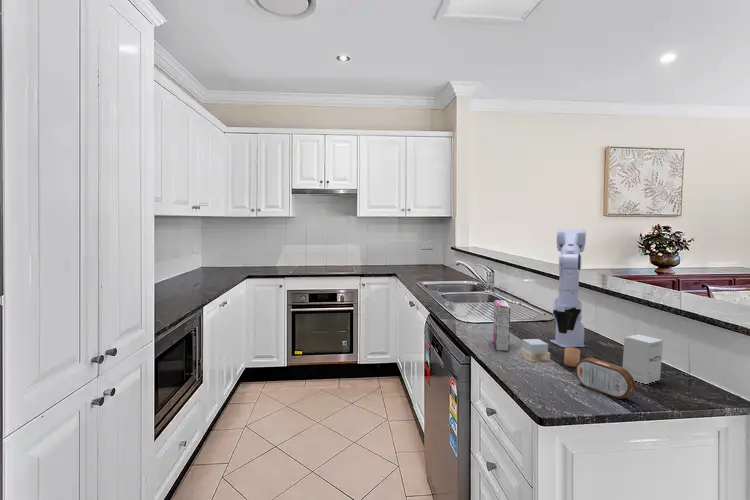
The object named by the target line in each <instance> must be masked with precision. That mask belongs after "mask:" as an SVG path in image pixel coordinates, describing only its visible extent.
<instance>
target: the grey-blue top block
mask: <svg viewBox="0 0 750 500" xmlns="http://www.w3.org/2000/svg"><path fill="white" fill-rule="evenodd" d="M521 347H522V348H523V349H525V350H526V351H528V352H530V353H548V352H549V343H547V342H545V341H544V340H541V339H540V338H529V339H528V338H525V339H522V345H521Z"/></svg>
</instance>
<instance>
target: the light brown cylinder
mask: <svg viewBox="0 0 750 500" xmlns="http://www.w3.org/2000/svg"><path fill="white" fill-rule="evenodd" d="M563 355H564V356H563V357H564V359H563V364H564V365H566V366H569V367H575V368H576V365H577V364H578V362H580V361H581V360H580V357H581V350H580V349H579V348H578V347H564V354H563Z"/></svg>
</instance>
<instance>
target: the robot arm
mask: <svg viewBox="0 0 750 500" xmlns="http://www.w3.org/2000/svg"><path fill="white" fill-rule="evenodd" d="M586 239H587V231H586V229H585V228H584V229H583V228H582V229H568V228H566V229H565V228H558V229H557V231H556V248H557V252H560V255H559V256H558V273H559V274H558V275H559V282H558V283H559V284H558V296H557V297H555V298H554V301H553V306H552V318H553V319H554V320H555V322H556V323H555V339H550V342H551V343H553V344H556V346H559V347H561V348H566V347H573V348H582V347H583V348H585V347H586V345H585V343H584V342H585V326H584V324H583V323H582V322H581V321H582V316H583V315H582V313H583V305H582V304H583V303H582V301H581V300H580V299H579V284H580V283H579V282H580V280H579V279H580V272H581V270H582V255H581V253H583V252H584V250H585V247H586Z"/></svg>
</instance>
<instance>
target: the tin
mask: <svg viewBox="0 0 750 500" xmlns="http://www.w3.org/2000/svg"><path fill="white" fill-rule="evenodd" d="M575 375H576V378H577V380H578V381H579V382H580V384H582V385H583V386H584V387H585V388H588V389H590V390H593V391H596V392H598V393H601V394H603V393H604V395H607V396H609V395H610V396H609V397H611V396H612V398H614V397H615V399H624V398H626V397H629V396H631V395H632V394H633V393H634V391H635V388H636V384H635V383H636V382H635V381H634V379H633V377H632V375H631V374H630V373H629V372H628V371H627V370H626V369H624V368H623V367H622V366H619V365H616V364H615V363H610V362H607V361H604V360H602V359H601V360H600V359H597V358H595V357H585V358H583V359H582V360H580V361H579V362H578V364H577V365H576V367H575Z"/></svg>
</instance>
